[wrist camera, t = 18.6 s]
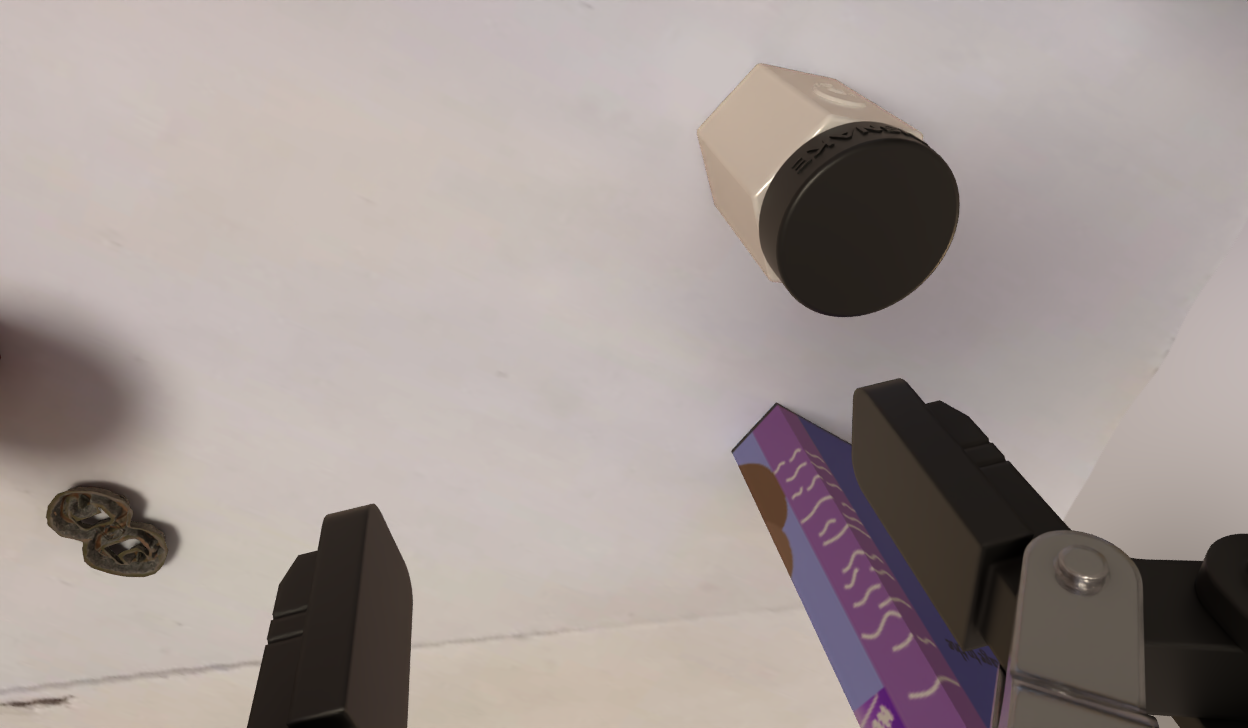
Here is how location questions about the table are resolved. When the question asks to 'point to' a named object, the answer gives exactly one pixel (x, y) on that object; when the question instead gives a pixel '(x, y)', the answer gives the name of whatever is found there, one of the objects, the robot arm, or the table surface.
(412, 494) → the table surface
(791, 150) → the jar
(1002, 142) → the table surface
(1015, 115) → the table surface
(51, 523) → the corroded twin loop
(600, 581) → the table surface
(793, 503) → the cereal box
